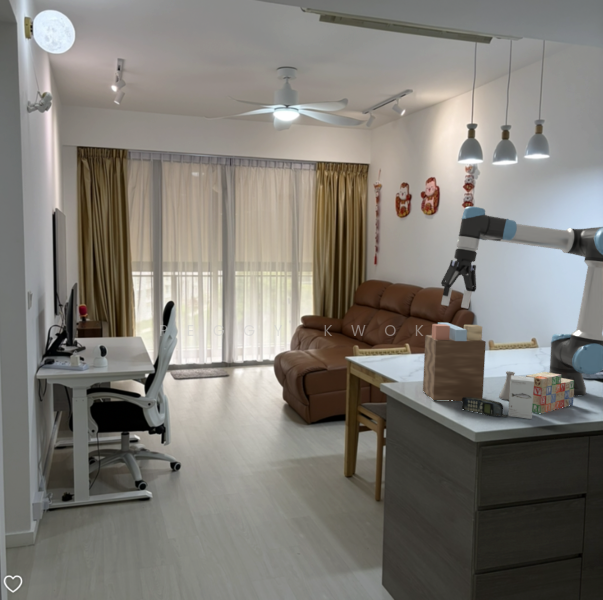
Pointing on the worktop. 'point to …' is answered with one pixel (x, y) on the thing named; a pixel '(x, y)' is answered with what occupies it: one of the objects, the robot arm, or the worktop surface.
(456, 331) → the blue bar
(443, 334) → the brick cube
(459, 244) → the robot arm
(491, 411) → the mobile phone
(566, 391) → the stack of blocks
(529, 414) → the supplement box
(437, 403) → the worktop surface
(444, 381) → the walnut stand
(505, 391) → the flask
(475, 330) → the oak cube
